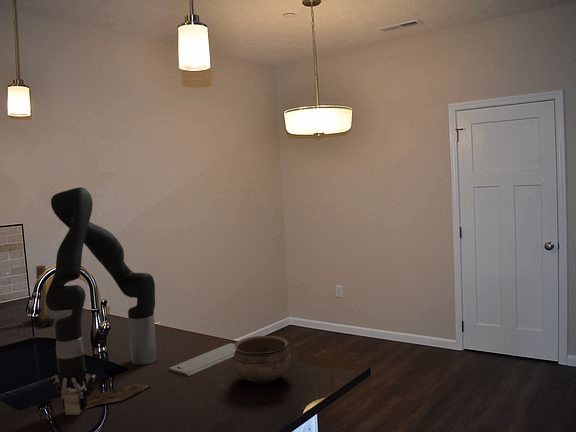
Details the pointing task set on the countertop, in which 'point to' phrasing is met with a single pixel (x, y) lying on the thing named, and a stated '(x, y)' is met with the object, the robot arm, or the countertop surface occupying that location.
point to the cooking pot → (261, 358)
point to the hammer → (43, 303)
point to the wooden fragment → (114, 395)
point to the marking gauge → (72, 402)
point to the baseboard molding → (205, 360)
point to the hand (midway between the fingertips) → (75, 409)
